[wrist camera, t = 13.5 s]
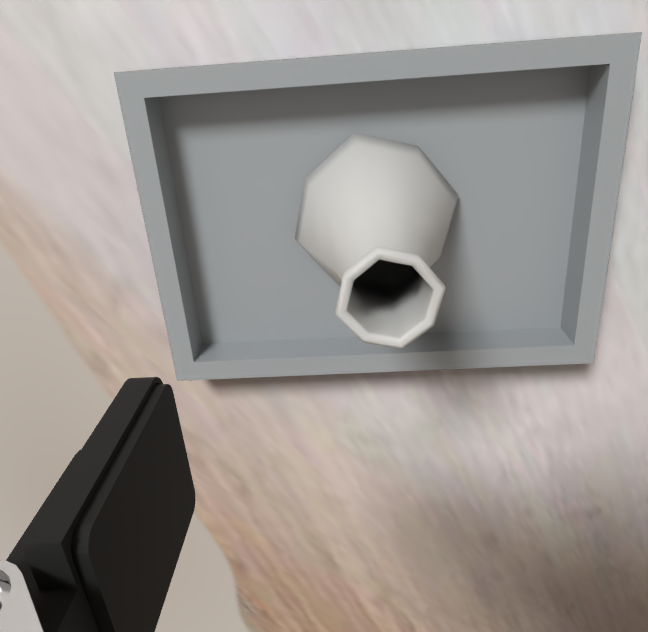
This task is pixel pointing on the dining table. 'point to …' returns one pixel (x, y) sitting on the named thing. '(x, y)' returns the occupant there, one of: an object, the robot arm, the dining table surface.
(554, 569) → the dining table surface
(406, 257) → the flask
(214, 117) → the tray
